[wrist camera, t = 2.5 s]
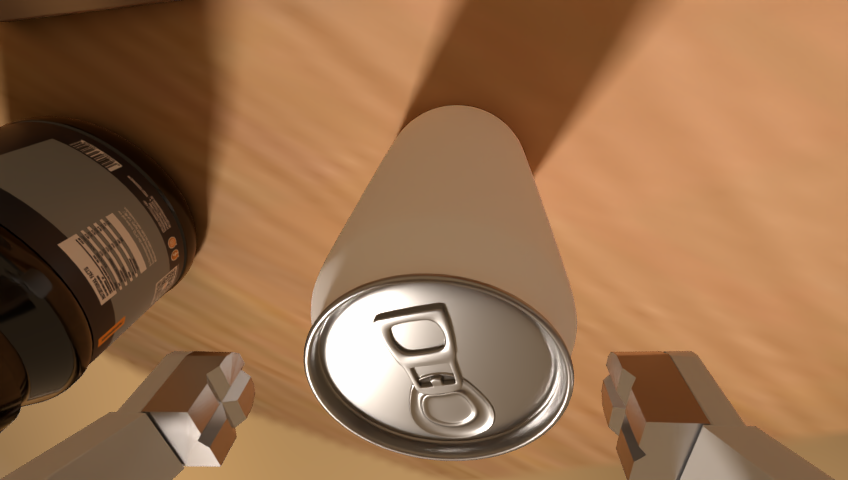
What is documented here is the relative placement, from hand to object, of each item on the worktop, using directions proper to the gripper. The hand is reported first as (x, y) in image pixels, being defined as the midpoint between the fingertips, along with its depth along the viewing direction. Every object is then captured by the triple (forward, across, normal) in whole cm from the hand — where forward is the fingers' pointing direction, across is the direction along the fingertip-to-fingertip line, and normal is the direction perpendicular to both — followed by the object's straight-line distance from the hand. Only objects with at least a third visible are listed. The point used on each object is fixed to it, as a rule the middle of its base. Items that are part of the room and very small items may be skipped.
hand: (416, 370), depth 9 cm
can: (+12, -1, 0) cm, 12 cm away
